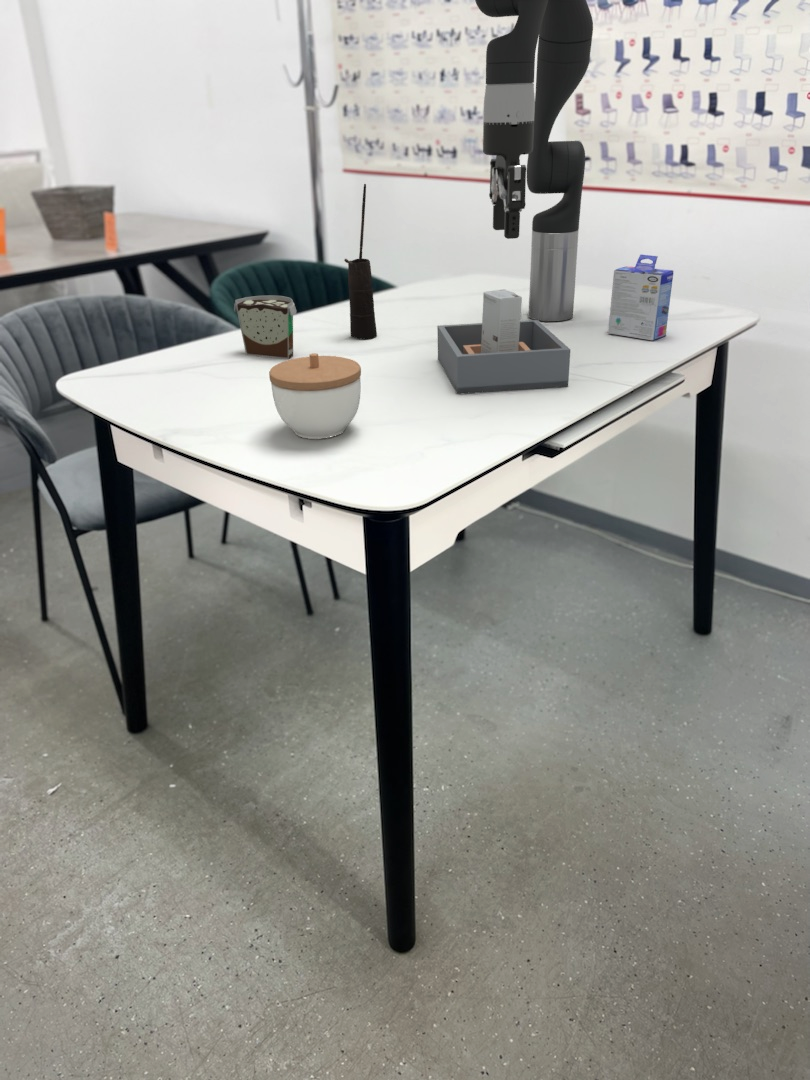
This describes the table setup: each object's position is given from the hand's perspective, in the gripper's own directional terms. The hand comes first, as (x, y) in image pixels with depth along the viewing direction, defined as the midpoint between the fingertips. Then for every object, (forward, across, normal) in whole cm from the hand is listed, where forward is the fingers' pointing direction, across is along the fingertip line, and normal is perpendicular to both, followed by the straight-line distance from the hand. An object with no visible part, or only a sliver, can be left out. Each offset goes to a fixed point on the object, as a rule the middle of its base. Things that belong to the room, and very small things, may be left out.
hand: (505, 233), depth 131 cm
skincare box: (+21, +1, -1) cm, 21 cm away
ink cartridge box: (+22, -17, +30) cm, 41 cm away
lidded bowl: (+22, +23, -32) cm, 45 cm away
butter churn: (+23, -28, -23) cm, 43 cm away
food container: (+22, -20, -39) cm, 49 cm away
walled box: (+22, +1, -1) cm, 22 cm away
